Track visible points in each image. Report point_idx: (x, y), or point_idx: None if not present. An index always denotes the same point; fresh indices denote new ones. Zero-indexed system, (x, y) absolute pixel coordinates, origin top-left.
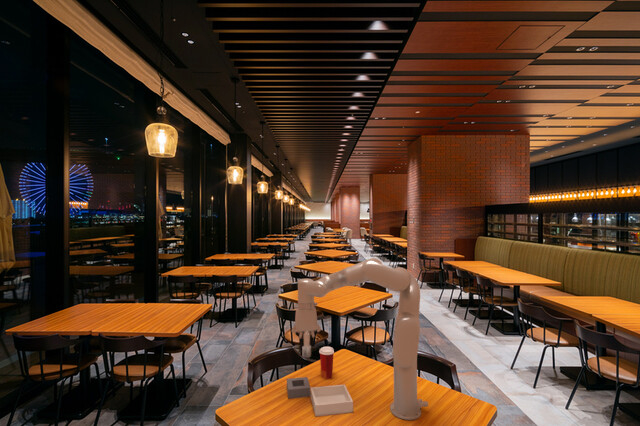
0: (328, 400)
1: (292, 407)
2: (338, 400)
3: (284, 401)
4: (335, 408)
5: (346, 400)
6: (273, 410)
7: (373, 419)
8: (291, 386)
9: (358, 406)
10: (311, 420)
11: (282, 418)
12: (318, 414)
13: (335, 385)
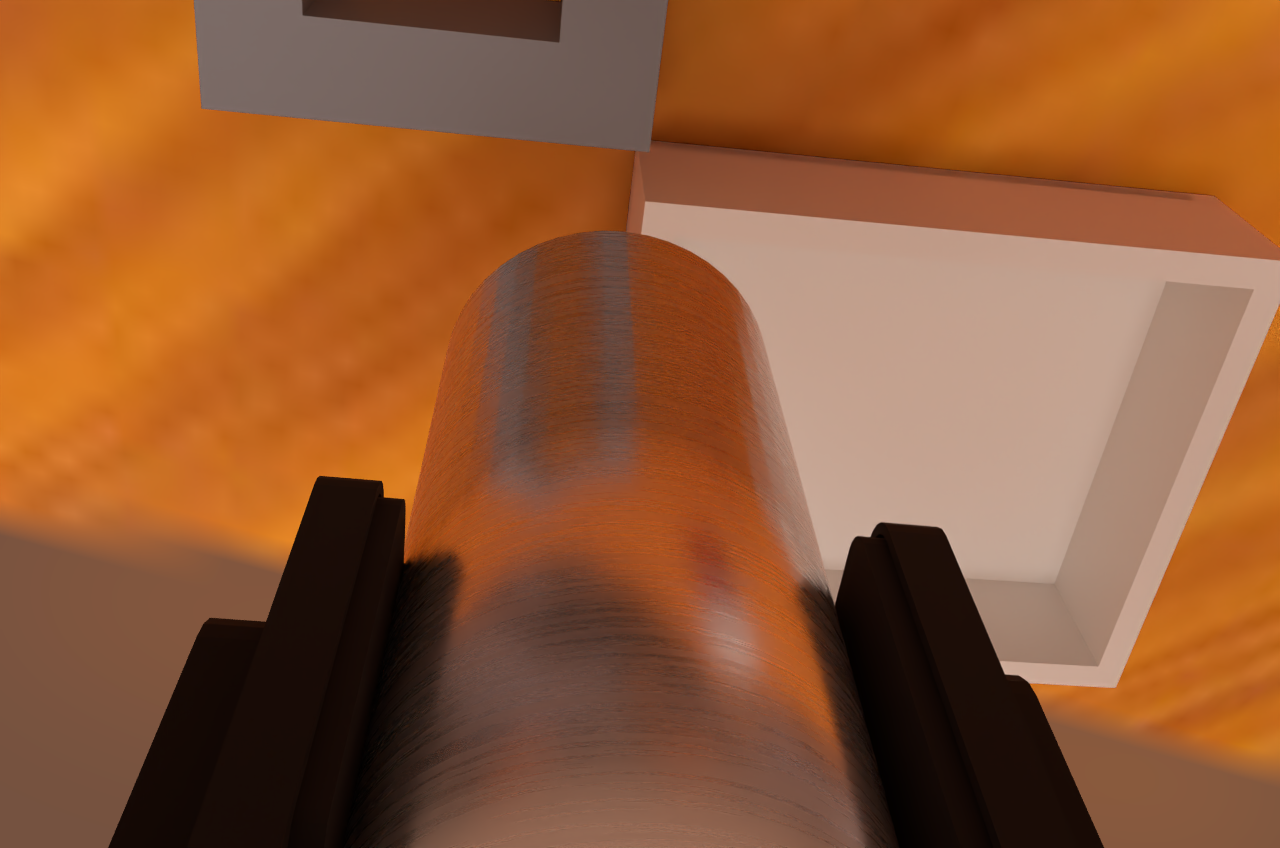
0: (878, 328)
1: (303, 315)
2: (1019, 364)
3: (174, 125)
4: None
5: (1124, 399)
6: (5, 315)
7: (1196, 729)
8: (272, 2)
9: (1202, 506)
10: None
11: (154, 504)
12: None
13: (1122, 252)
